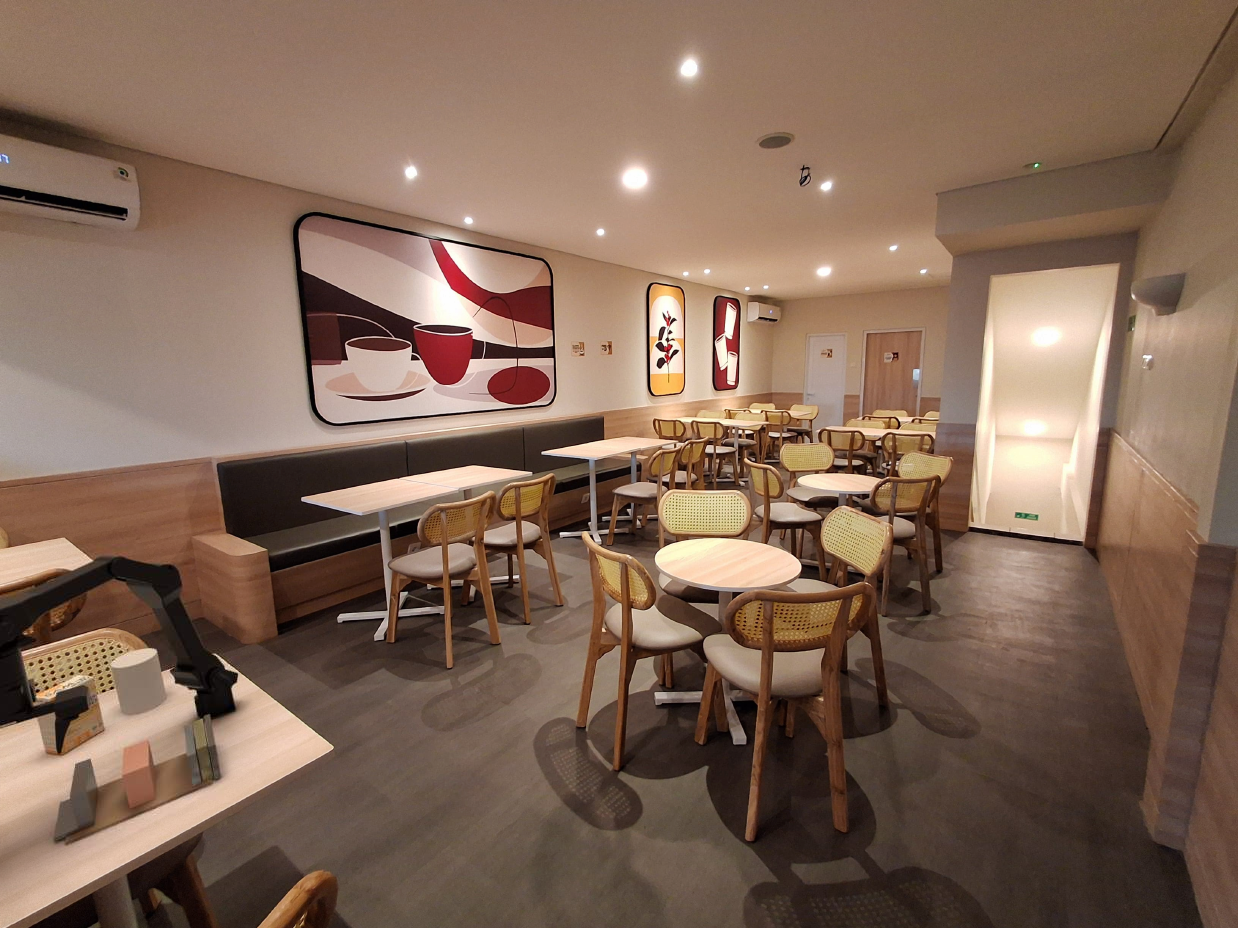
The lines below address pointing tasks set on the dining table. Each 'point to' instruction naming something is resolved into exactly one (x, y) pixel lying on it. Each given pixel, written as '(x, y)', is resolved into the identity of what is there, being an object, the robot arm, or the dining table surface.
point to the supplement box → (78, 728)
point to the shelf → (160, 781)
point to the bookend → (78, 802)
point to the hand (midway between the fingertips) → (21, 765)
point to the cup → (138, 681)
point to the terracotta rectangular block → (139, 774)
